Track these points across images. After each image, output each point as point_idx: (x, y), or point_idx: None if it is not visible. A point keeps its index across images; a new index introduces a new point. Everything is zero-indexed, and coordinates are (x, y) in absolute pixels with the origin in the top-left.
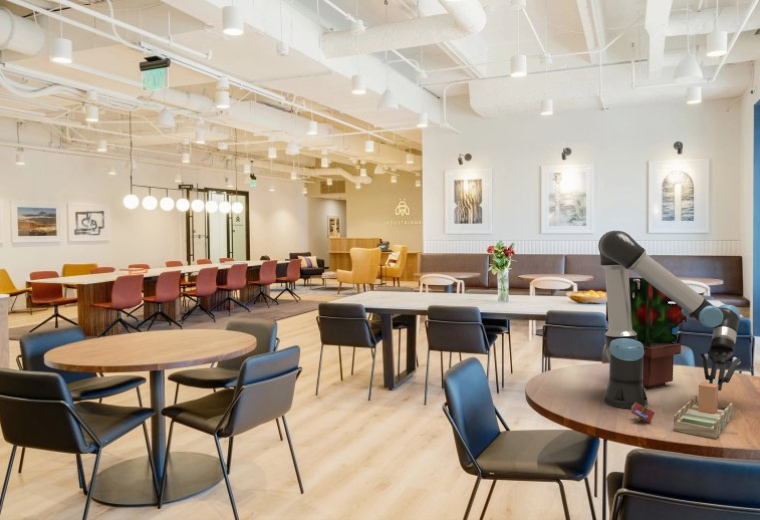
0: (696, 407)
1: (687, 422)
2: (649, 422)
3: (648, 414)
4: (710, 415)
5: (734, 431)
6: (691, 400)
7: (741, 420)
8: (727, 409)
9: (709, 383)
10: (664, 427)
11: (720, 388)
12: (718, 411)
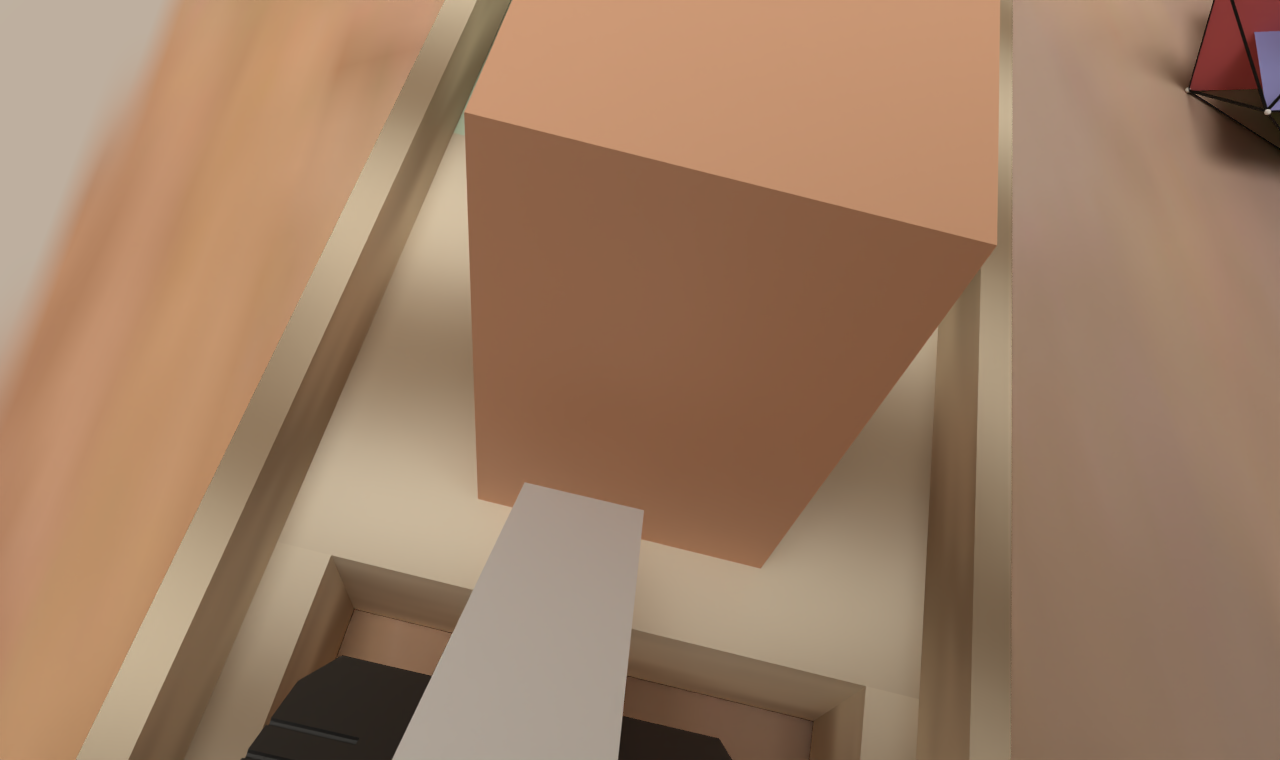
0: (839, 539)
1: None
2: (1194, 74)
3: (1269, 19)
4: None
5: (343, 113)
6: (985, 564)
7: (58, 674)
8: (342, 213)
9: (749, 152)
10: (1032, 24)
11: (324, 679)
12: (470, 438)
